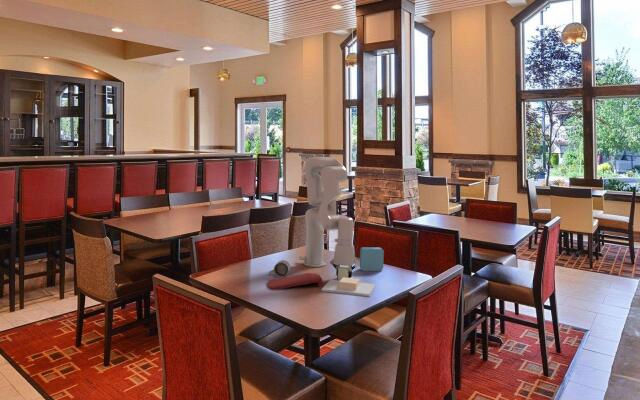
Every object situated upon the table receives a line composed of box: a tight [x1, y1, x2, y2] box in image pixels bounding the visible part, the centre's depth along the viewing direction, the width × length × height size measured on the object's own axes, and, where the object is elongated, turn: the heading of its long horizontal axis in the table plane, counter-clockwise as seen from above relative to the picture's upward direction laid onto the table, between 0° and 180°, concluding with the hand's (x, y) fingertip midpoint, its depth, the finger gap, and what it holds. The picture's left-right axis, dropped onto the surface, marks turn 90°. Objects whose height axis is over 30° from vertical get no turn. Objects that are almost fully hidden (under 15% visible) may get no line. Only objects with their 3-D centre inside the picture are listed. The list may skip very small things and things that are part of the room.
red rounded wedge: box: [267, 272, 324, 291], centre depth 219 cm, size 12×5×25 cm
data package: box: [359, 246, 385, 272], centre depth 248 cm, size 12×4×12 cm, turn 96°
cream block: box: [337, 265, 349, 281], centre depth 230 cm, size 5×5×6 cm
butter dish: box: [321, 277, 376, 297], centre depth 215 cm, size 22×16×4 cm
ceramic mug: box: [268, 259, 291, 278], centre depth 234 cm, size 11×8×8 cm
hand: (343, 277), depth 231 cm, fingers closed on cream block, 5 cm apart
